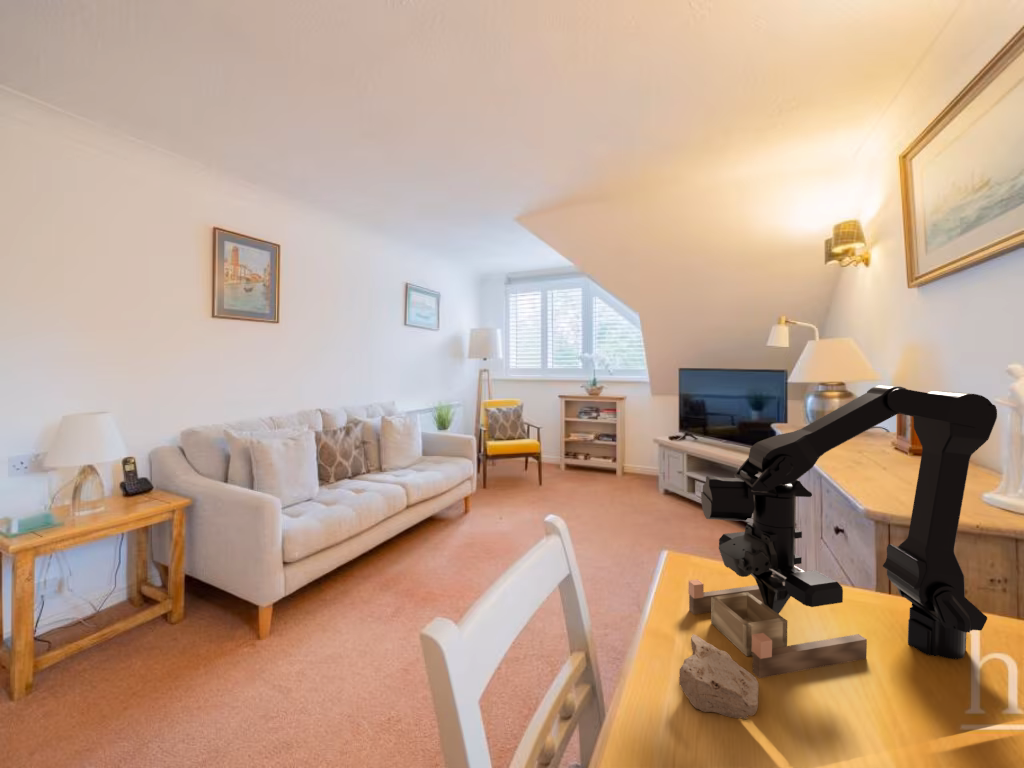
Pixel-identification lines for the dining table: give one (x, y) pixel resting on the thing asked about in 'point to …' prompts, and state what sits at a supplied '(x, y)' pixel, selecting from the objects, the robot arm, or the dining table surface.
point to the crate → (747, 620)
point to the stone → (717, 682)
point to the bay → (788, 656)
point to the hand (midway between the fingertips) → (772, 615)
